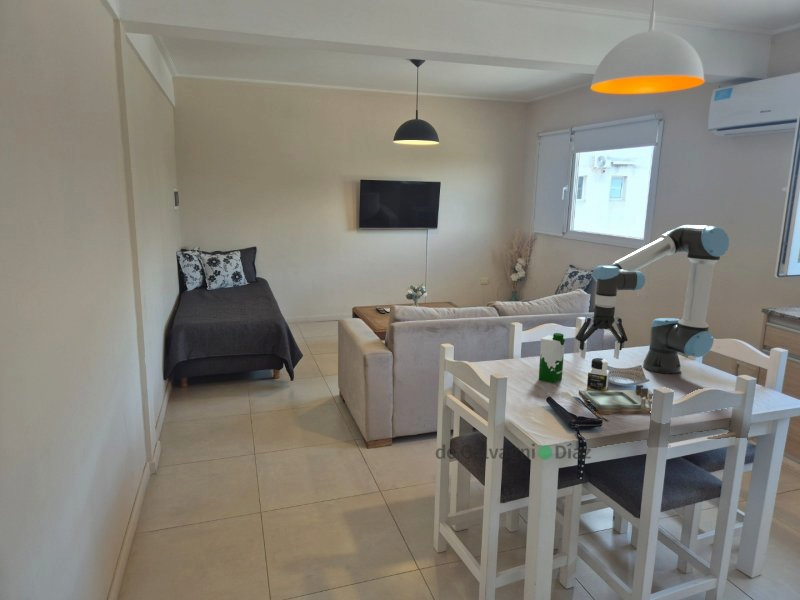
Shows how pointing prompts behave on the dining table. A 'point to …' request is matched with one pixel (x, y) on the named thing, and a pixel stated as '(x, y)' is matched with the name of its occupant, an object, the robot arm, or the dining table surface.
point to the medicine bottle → (598, 375)
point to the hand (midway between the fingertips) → (599, 357)
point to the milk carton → (551, 358)
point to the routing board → (620, 400)
